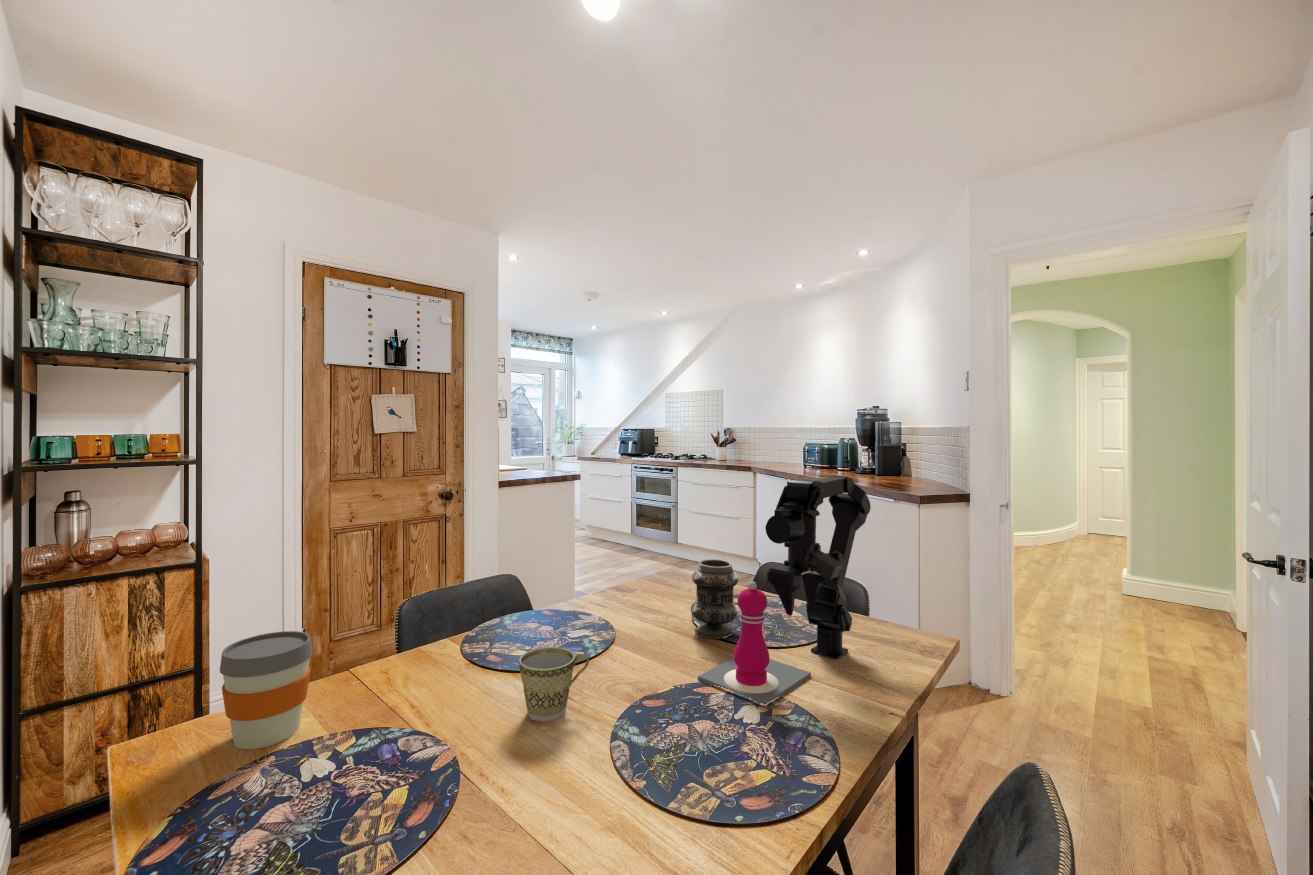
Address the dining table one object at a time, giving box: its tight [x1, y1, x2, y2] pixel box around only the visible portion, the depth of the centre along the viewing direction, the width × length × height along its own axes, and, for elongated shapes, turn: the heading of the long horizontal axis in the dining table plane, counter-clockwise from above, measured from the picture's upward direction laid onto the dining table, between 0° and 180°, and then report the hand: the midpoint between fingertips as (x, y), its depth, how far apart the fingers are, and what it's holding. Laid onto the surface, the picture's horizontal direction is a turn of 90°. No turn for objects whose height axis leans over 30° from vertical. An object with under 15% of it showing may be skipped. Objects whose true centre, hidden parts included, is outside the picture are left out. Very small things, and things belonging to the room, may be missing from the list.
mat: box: [697, 657, 812, 704], centre depth 113 cm, size 18×16×1 cm
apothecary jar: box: [690, 558, 739, 640], centre depth 138 cm, size 12×12×18 cm
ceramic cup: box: [518, 646, 590, 723], centre depth 99 cm, size 13×10×10 cm
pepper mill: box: [733, 580, 771, 686], centre depth 110 cm, size 7×7×20 cm
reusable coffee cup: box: [219, 630, 313, 750], centre depth 90 cm, size 13×13×15 cm
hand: (800, 610), depth 116 cm, fingers open, 9 cm apart
